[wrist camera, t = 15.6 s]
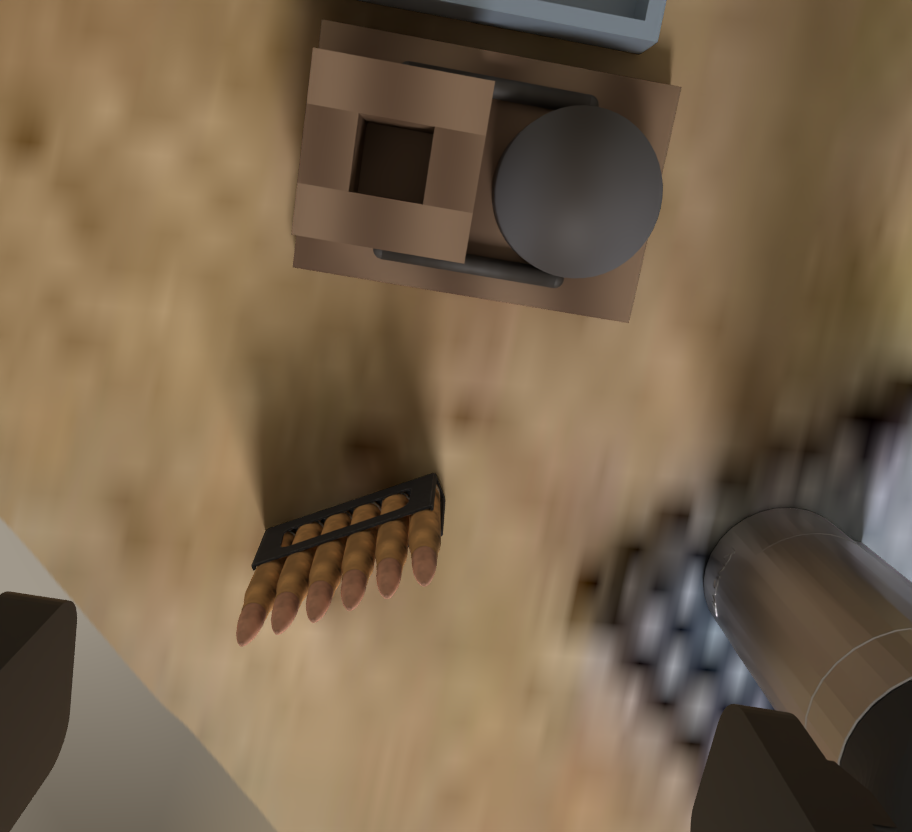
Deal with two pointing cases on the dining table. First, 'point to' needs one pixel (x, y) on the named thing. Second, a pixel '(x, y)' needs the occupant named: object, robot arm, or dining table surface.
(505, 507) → the dining table surface
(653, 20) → the tray
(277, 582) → the ammunition clip
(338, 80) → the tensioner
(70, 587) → the dining table surface
